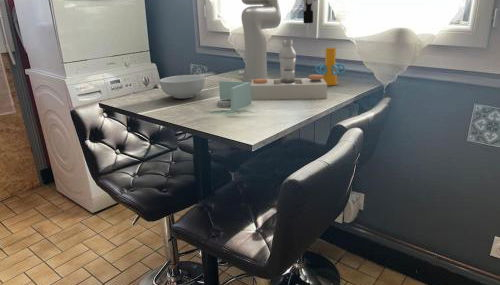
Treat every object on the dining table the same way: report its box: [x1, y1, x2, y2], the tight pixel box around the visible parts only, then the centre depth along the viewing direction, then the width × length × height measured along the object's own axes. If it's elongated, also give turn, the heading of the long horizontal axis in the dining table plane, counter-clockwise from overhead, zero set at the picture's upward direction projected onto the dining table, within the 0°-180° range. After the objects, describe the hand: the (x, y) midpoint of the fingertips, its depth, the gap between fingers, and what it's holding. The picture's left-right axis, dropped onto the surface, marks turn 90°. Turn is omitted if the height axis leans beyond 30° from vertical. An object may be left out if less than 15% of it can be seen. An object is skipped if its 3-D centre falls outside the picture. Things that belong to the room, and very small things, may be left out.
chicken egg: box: [253, 79, 267, 84], centre depth 144 cm, size 5×5×6 cm
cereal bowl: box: [159, 74, 206, 99], centre depth 148 cm, size 17×17×7 cm
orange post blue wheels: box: [314, 47, 346, 87], centre depth 160 cm, size 12×10×15 cm
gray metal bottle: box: [278, 39, 297, 84], centre depth 142 cm, size 6×7×20 cm
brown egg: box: [308, 74, 323, 82], centre depth 143 cm, size 5×5×6 cm
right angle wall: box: [216, 80, 252, 113], centre depth 130 cm, size 12×12×8 cm
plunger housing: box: [251, 77, 328, 101], centre depth 144 cm, size 27×14×5 cm, turn 87°
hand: (308, 23), depth 136 cm, fingers closed
